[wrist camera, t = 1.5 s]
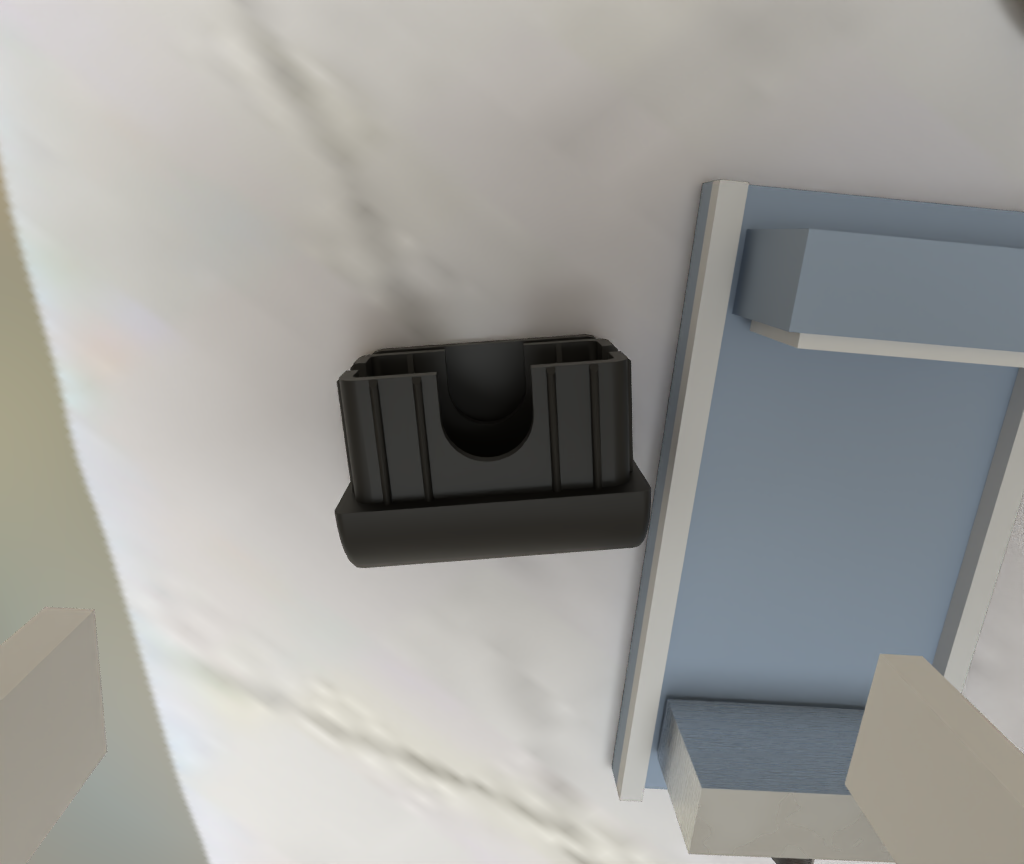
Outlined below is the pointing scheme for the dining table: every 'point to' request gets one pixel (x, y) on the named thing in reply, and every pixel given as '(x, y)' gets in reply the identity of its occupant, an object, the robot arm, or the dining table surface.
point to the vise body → (828, 454)
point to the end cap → (489, 452)
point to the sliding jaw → (765, 781)
